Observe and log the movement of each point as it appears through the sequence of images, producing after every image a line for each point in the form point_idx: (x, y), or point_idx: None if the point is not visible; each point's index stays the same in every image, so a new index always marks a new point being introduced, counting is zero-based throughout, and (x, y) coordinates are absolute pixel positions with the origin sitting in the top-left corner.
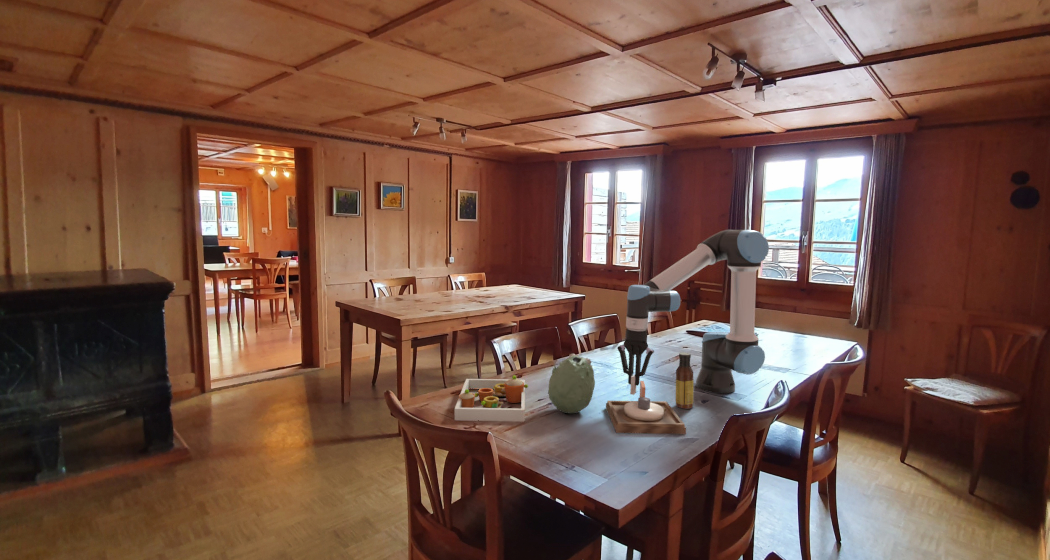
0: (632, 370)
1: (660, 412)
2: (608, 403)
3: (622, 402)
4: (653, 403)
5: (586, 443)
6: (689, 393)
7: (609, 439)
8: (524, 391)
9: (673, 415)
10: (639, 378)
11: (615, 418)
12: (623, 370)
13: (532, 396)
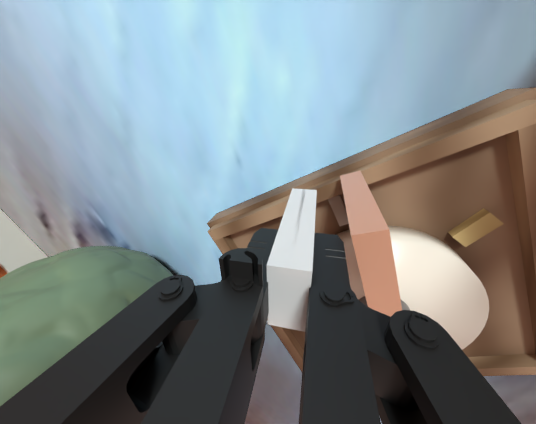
0: (243, 324)
1: (463, 343)
2: (223, 252)
3: (266, 220)
4: (433, 252)
5: (266, 393)
6: None
7: (301, 380)
8: (5, 268)
9: (532, 288)
10: (347, 276)
11: (290, 353)
12: (163, 351)
13: (13, 205)
